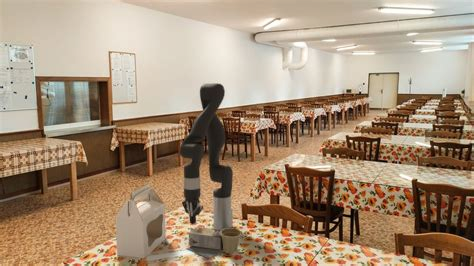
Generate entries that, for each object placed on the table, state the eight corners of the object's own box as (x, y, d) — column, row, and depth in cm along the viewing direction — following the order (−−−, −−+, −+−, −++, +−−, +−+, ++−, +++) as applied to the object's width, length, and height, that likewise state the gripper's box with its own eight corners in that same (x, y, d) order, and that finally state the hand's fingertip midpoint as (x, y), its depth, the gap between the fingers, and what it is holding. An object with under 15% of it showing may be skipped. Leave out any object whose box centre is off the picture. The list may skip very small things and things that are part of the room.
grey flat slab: (201, 242, 174) (201, 242, 174) (223, 252, 164) (223, 251, 164) (186, 248, 168) (186, 248, 167) (208, 258, 158) (208, 258, 158)
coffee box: (195, 226, 177) (227, 230, 173) (195, 238, 178) (227, 243, 174) (188, 232, 168) (221, 237, 164) (188, 246, 169) (221, 250, 165)
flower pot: (225, 257, 159) (226, 238, 158) (216, 247, 167) (217, 229, 166) (244, 253, 163) (245, 234, 162) (234, 244, 172) (235, 226, 170)
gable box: (144, 259, 158) (141, 195, 155) (116, 255, 161) (113, 193, 158) (166, 238, 179) (164, 182, 176) (141, 235, 183) (139, 180, 179)
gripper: (208, 187, 165) (208, 224, 167) (189, 182, 174) (189, 217, 176) (195, 191, 160) (196, 229, 162) (176, 185, 169) (177, 222, 171)
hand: (192, 223), depth 169 cm, fingers closed
